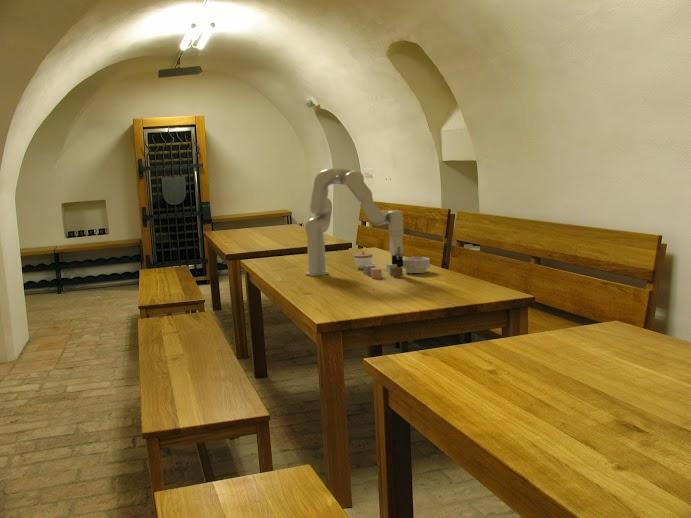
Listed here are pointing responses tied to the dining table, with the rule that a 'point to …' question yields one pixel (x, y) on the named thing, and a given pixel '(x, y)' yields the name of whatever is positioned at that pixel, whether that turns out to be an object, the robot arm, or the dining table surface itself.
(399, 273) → the walnut block
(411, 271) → the paper bowls
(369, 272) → the slate block
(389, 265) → the sage block
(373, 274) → the terracotta block
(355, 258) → the lidded jar
